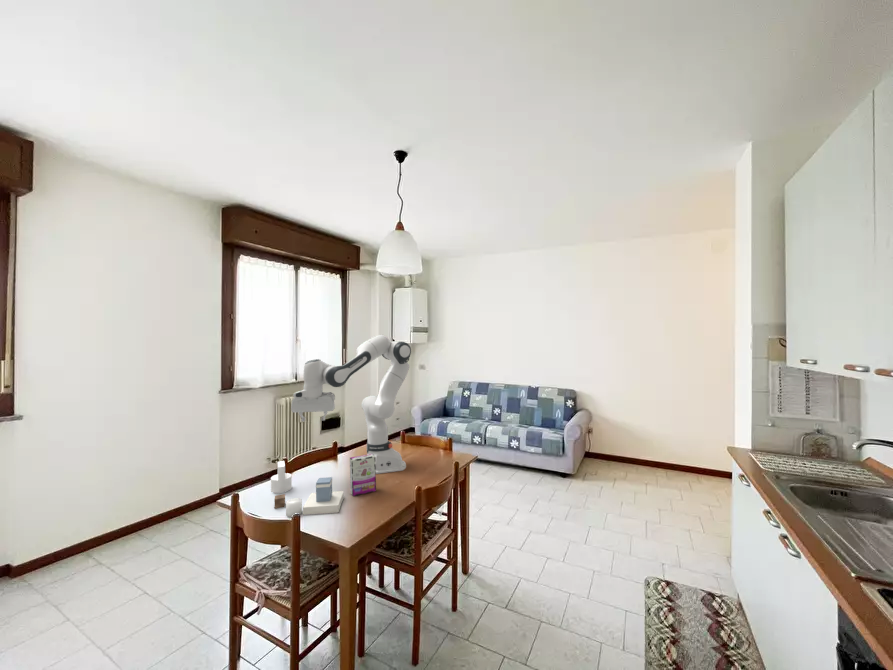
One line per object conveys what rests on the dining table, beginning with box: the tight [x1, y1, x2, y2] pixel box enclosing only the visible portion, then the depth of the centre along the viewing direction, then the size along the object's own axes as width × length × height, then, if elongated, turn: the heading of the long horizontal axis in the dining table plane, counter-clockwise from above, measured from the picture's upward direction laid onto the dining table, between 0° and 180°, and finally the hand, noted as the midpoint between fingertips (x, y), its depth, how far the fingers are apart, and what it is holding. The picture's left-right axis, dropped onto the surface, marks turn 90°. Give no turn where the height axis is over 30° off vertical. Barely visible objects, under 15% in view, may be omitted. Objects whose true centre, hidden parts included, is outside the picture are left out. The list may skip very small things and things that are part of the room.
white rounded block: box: [285, 497, 303, 518], centre depth 149 cm, size 6×6×5 cm
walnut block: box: [274, 493, 286, 510], centre depth 156 cm, size 4×4×4 cm
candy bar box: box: [349, 454, 377, 497], centre depth 169 cm, size 11×5×16 cm, turn 117°
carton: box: [315, 476, 333, 502], centre depth 155 cm, size 6×6×8 cm
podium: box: [302, 490, 345, 516], centre depth 155 cm, size 14×14×3 cm
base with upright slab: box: [270, 460, 293, 494], centre depth 173 cm, size 9×9×12 cm
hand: (313, 420), depth 179 cm, fingers open, 8 cm apart
